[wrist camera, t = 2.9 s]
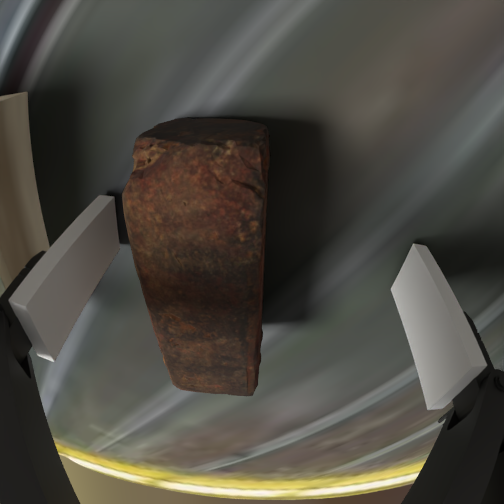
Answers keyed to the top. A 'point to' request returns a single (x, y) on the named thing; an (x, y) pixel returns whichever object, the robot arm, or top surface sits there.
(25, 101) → the base block
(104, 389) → the top surface
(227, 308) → the brick
